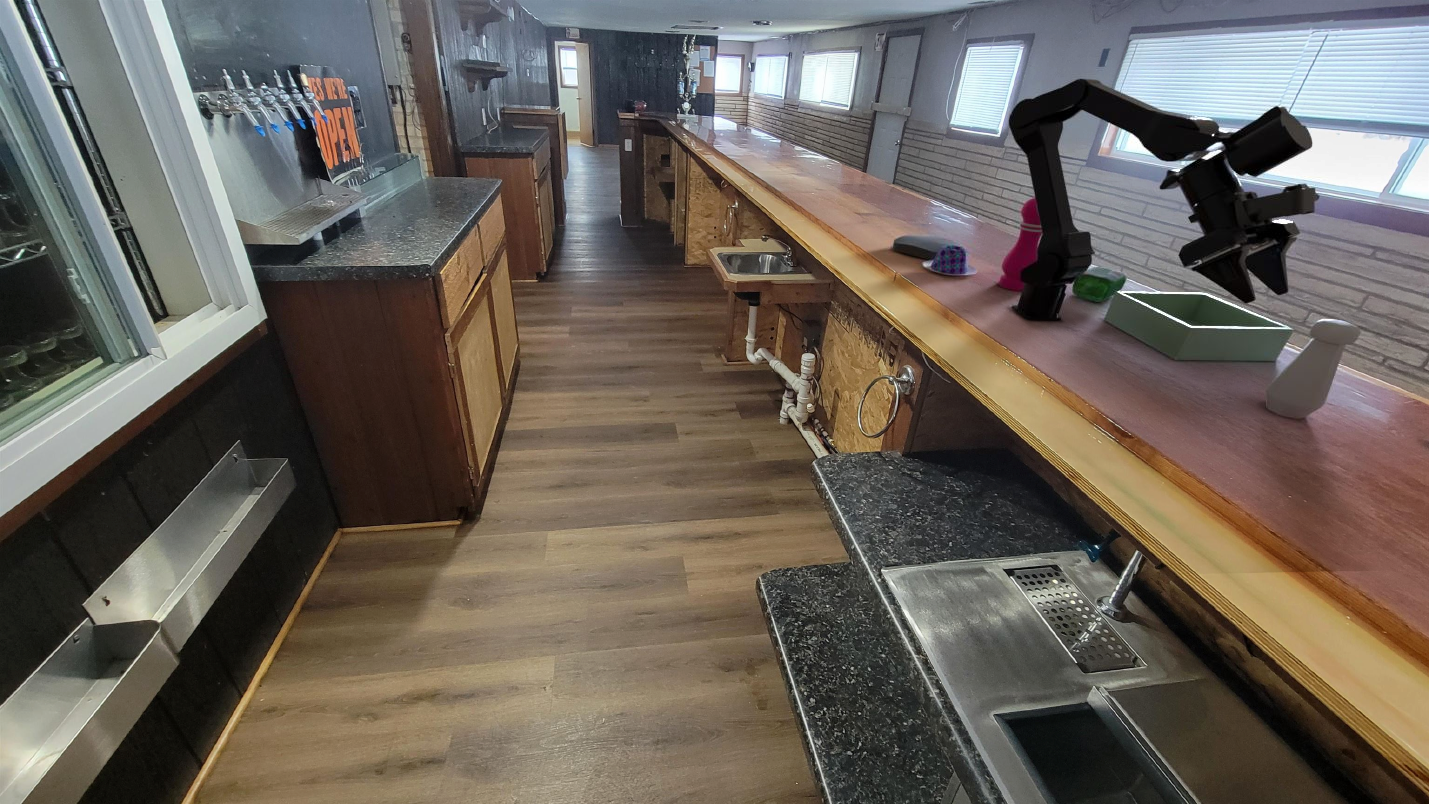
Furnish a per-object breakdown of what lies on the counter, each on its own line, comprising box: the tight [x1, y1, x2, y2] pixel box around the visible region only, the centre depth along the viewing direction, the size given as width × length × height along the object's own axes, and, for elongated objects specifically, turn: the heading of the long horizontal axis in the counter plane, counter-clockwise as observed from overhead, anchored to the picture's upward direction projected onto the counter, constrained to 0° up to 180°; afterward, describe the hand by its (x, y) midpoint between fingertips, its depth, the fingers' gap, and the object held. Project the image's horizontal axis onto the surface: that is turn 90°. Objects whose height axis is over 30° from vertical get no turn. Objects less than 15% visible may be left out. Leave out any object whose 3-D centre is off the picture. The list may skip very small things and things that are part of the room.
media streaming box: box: [892, 234, 964, 260], centre depth 144 cm, size 15×15×3 cm
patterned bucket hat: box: [922, 245, 978, 277], centre depth 130 cm, size 12×12×5 cm
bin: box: [1103, 290, 1295, 362], centre depth 98 cm, size 18×18×6 cm
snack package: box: [1071, 266, 1128, 303], centre depth 118 cm, size 7×16×5 cm, turn 131°
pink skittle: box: [998, 197, 1042, 292], centre depth 117 cm, size 7×7×20 cm
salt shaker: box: [1264, 318, 1362, 420], centre depth 74 cm, size 6×6×13 cm
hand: (1267, 297), depth 77 cm, fingers open, 9 cm apart
